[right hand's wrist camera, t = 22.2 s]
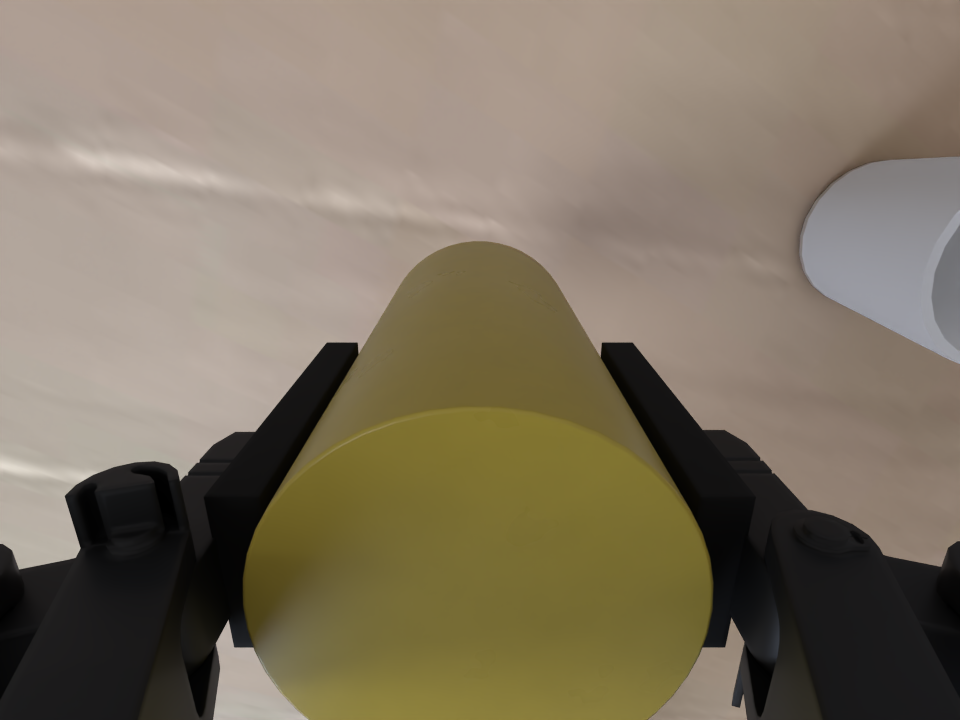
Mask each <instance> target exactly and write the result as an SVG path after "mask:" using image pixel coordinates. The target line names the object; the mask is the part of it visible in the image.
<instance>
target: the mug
mask: <svg viewBox="0 0 960 720" xmlns="http://www.w3.org/2000/svg"><path fill="white" fill-rule="evenodd" d="M799 256H800V260H801V264H802V269H803V272H804V274H805V275H806V277H807V279H808V280H809V282H810V284H811V285H812V286H813V287H814V288H815V289H817V290H818V291H819V292H820V293H821V294H822V295H824V296H826V297H828V298H830V299H832V300H834V301H836V302H838V303H840V304H842V305H844V306H846V307H848V308H849V309H851V310H853V311H855V312H857V313H859V314H861V315H863V316H865V317H867V318H869V319H871V320H873V321H875V322H877V323H879V324H881V325H883V326H885V327H886V328H888V329H890V330H892V331H894V332H896V333H898V334H900V335H902V336H904V337H906V338H908V339H910V340H912V341H914V342H916V343H918V344H920V345H921V346H923V347H925V348H927V349H929V350H931V351H933V352H935V353H937V354H939V355H941V356H943V357H945V358H947V359H949V360H951V361H954V362H956V363H959V364H960V156H959V157H939V158H919V159H899V160H884V161H877V162H871V163H867V164H864V165H862V166H860V167H857V168H855V169H852V170H850V171H848V172H847V173H845V174H844V175H842V176H841V177H840V178H838V179H837V180H835V181H834V182H833V183H831V184H830V185H829V186H828V187H827V189H826V190H825V191H824V192H823V193H822V194H821V195H820V196H819V197H818V198H817V199H816V201H815V203H814V204H813V206H812V208H811V209H810V211H809V213H808V214H807V216H806V218H805V221H804V225H803V228H802V231H801V234H800V248H799Z"/></svg>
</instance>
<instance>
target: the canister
mask: <svg viewBox="0 0 960 720" xmlns="http://www.w3.org/2000/svg"><path fill="white" fill-rule="evenodd" d="M243 608H244V613H245V619H246V625H247V630H248V633H249V635H250V638H251V641H252V644H253V647H254V650H255V652H256V654H257V656H258V658H259V660H260V662H261V664H262V666H263V667H264V669H265V671H266V673H267V674H268V676H269V677H270V679H271V680H272V681H273V683H274V684H275V686H276V687H277V688H278V690H279V691H280V692H281V693H282V695H283V696H284V697H285V698H286V699H287V700H288V701H289V702H290V703H291V704H292V705H293V706H294V707H295V708H296V709H297V710H298V711H299V712H300V713H301V714H302V715H304V716H305V717H306V718H307V719H308V720H648V719H649V718H650V717H651V716H653V715H654V714H655V713H656V712H657V711H658V710H659V709H660V708H661V707H662V706H663V705H664V704H665V703H666V702H667V701H668V700H669V699H670V698H671V697H672V696H673V695H674V693H675V692H676V691H677V690H678V688H679V687H680V686H681V684H682V683H683V682H684V680H685V679H686V678H687V676H688V675H689V673H690V671H691V669H692V667H693V666H694V664H695V662H696V660H697V658H698V657H699V655H700V652H701V649H702V647H703V644H704V641H705V639H706V636H707V633H708V629H709V624H710V619H711V614H712V608H713V576H712V568H711V561H710V556H709V553H708V550H707V547H706V543H705V540H704V537H703V534H702V532H701V530H700V528H699V526H698V524H697V522H696V520H695V518H694V516H693V514H692V512H691V510H690V508H689V507H688V505H687V503H686V502H685V500H684V498H683V496H682V495H681V493H680V491H679V490H678V488H677V486H676V485H675V483H674V481H673V480H672V478H671V476H670V474H669V473H668V471H667V469H666V468H665V466H664V464H663V463H662V461H661V459H660V458H659V456H658V454H657V452H656V451H655V449H654V447H653V446H652V444H651V442H650V441H649V439H648V437H647V436H646V434H645V432H644V430H643V429H642V427H641V425H640V424H639V422H638V420H637V419H636V417H635V415H634V414H633V412H632V410H631V408H630V407H629V405H628V403H627V402H626V400H625V398H624V397H623V395H622V393H621V392H620V390H619V388H618V386H617V385H616V383H615V381H614V380H613V378H612V376H611V375H610V373H609V371H608V370H607V368H606V366H605V364H604V363H603V361H602V359H601V358H600V356H599V354H598V353H597V351H596V349H595V348H594V346H593V344H592V342H591V341H590V339H589V337H588V336H587V334H586V332H585V331H584V329H583V327H582V326H581V324H580V322H579V320H578V319H577V317H576V315H575V314H574V312H573V310H572V309H571V307H570V305H569V303H568V302H567V300H566V298H565V297H564V295H563V293H562V292H561V290H560V288H559V287H558V285H557V283H556V282H555V281H554V279H553V278H552V276H551V275H550V274H549V273H548V272H547V271H546V269H545V268H544V267H543V266H542V265H540V264H539V263H538V262H537V261H536V260H534V259H533V258H532V257H530V256H528V255H527V254H525V253H523V252H522V251H519V250H517V249H515V248H512V247H510V246H506V245H503V244H499V243H493V242H485V241H473V242H464V243H459V244H455V245H451V246H448V247H446V248H443V249H441V250H438V251H436V252H435V253H433V254H431V255H429V256H428V257H426V258H425V259H424V260H422V261H421V262H420V263H418V264H417V265H416V266H415V267H414V268H413V269H412V270H411V271H410V272H409V273H408V275H407V276H406V277H405V279H404V280H403V281H402V283H401V285H400V286H399V288H398V290H397V291H396V293H395V295H394V296H393V298H392V300H391V301H390V303H389V305H388V306H387V308H386V310H385V311H384V313H383V315H382V316H381V318H380V320H379V321H378V323H377V325H376V326H375V328H374V330H373V331H372V333H371V335H370V336H369V338H368V340H367V341H366V343H365V345H364V346H363V348H362V350H361V351H360V353H359V355H358V356H357V358H356V360H355V361H354V363H353V365H352V367H351V368H350V370H349V372H348V373H347V375H346V377H345V378H344V380H343V382H342V383H341V385H340V387H339V388H338V390H337V392H336V393H335V395H334V397H333V398H332V400H331V402H330V403H329V405H328V407H327V408H326V410H325V412H324V413H323V415H322V417H321V418H320V420H319V422H318V423H317V425H316V427H315V428H314V430H313V432H312V433H311V435H310V437H309V438H308V440H307V442H306V443H305V445H304V447H303V448H302V450H301V452H300V453H299V455H298V457H297V458H296V460H295V462H294V463H293V465H292V467H291V468H290V470H289V472H288V473H287V475H286V477H285V478H284V480H283V482H282V483H281V485H280V487H279V488H278V490H277V492H276V494H275V495H274V497H273V499H272V500H271V502H270V504H269V505H268V507H267V509H266V511H265V513H264V514H263V516H262V518H261V520H260V522H259V524H258V525H257V527H256V529H255V532H254V535H253V538H252V540H251V543H250V546H249V549H248V552H247V556H246V562H245V568H244V575H243Z"/></svg>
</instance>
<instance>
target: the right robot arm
mask: <svg viewBox="0 0 960 720" xmlns="http://www.w3.org/2000/svg"><path fill="white" fill-rule="evenodd" d="M358 355H359V354H358V343H326V344H325V346H324V347H323V348H322V349H321V351H320V352H319V353H318V354H317V356H316V357H315V358H314V359H313V361H312V362H311V363H310V364H309V366H308V367H307V368H306V369H305V371H304V372H303V373H302V374H301V376H300V377H299V378H298V379H297V381H296V382H295V383H294V384H293V386H292V387H291V388H290V389H289V391H288V392H287V393H286V394H285V396H284V397H283V398H282V399H281V401H280V402H279V403H278V404H277V406H276V407H275V408H274V409H273V411H272V412H271V413H270V414H269V416H268V417H267V418H266V419H265V421H264V422H263V423H262V424H261V426H260V427H259V428H258V429H257V431H256V432H235V433H233V434H231V435H229V436H228V437H226V438H224V439H223V440H221V441H219V442H217V443H216V444H214V445H213V446H212V447H211V448H210V449H209V450H208V451H207V452H206V453H205V455H204V456H203V457H202V458H201V459H200V463H196V464H195V466H194V467H193V468H192V469H191V470H190V471H189V472H188V476H185V477H184V478H183V479H182V480H181V481H180V479H179V475H178V470H177V469H175V468H174V467H172V466H171V465H170V464H166V463H160V462H155V461H154V462H136V463H131V464H126V465H122V466H117V467H113V468H111V469H108V470H105V471H103V472H100V473H97V474H95V475H93V476H91V477H89V478H87V479H86V480H84V481H82V482H80V483H79V484H77V485H76V486H75V487H74V488H73V489H72V490H71V491H69V492H68V493H67V494H66V495H65V499H66V502H67V505H68V508H69V512H70V515H71V518H72V521H73V525H74V528H75V531H76V534H77V537H78V541H79V544H80V547H81V549H80V551H79V553H78V555H77V557H76V558H73V559H70V560H65V561H60V562H55V563H50V564H45V565H40V566H35V567H30V568H25V569H20V570H19V569H18V566H17V563H16V560H15V558H14V555H13V552H12V550H10V549H9V548H8V547H6V546H5V545H3V544H0V720H213V716H214V708H215V701H216V694H217V687H218V680H219V673H220V664H219V656H218V652H217V647H216V642H217V640H218V638H219V636H220V634H221V632H222V631H223V629H224V627H225V625H226V623H227V621H228V619H229V624H230V629H231V633H232V638H233V643H234V647H253V644H252V641H251V638H250V635H249V633H248V630H247V625H246V619H245V613H244V608H243V575H244V568H245V562H246V556H247V552H248V549H249V546H250V543H251V540H252V538H253V535H254V532H255V529H256V527H257V525H258V524H259V522H260V520H261V518H262V516H263V514H264V513H265V511H266V509H267V507H268V505H269V504H270V502H271V500H272V499H273V497H274V495H275V494H276V492H277V490H278V488H279V487H280V485H281V483H282V482H283V480H284V478H285V477H286V475H287V473H288V472H289V470H290V468H291V467H292V465H293V463H294V462H295V460H296V458H297V457H298V455H299V453H300V452H301V450H302V448H303V447H304V445H305V443H306V442H307V440H308V438H309V437H310V435H311V433H312V432H313V430H314V428H315V427H316V425H317V423H318V422H319V420H320V418H321V417H322V415H323V413H324V412H325V410H326V408H327V407H328V405H329V403H330V402H331V400H332V398H333V397H334V395H335V393H336V392H337V390H338V388H339V387H340V385H341V383H342V382H343V380H344V378H345V377H346V375H347V373H348V372H349V370H350V368H351V367H352V365H353V363H354V361H355V360H356V358H357V356H358ZM601 359H602V361H603V363H604V364H605V366H606V368H607V370H608V371H609V373H610V375H611V376H612V378H613V380H614V381H615V383H616V385H617V386H618V388H619V390H620V392H621V393H622V395H623V397H624V398H625V400H626V402H627V403H628V405H629V407H630V408H631V410H632V412H633V414H634V415H635V417H636V419H637V420H638V422H639V424H640V425H641V427H642V429H643V430H644V432H645V434H646V436H647V437H648V439H649V441H650V442H651V444H652V446H653V447H654V449H655V451H656V452H657V454H658V456H659V458H660V459H661V461H662V463H663V464H664V466H665V468H666V469H667V471H668V473H669V474H670V476H671V478H672V480H673V481H674V483H675V485H676V486H677V488H678V490H679V491H680V493H681V495H682V496H683V498H684V500H685V502H686V503H687V505H688V507H689V508H690V510H691V512H692V514H693V516H694V518H695V520H696V522H697V524H698V526H699V528H700V530H701V532H702V534H703V537H704V540H705V543H706V547H707V550H708V553H709V556H710V561H711V568H712V576H713V608H712V614H711V619H710V624H709V629H708V633H707V636H706V639H705V641H704V644H703V647H725V646H726V641H727V636H728V631H729V626H730V621H731V617H732V619H733V621H734V623H735V625H736V627H737V628H738V630H739V632H740V634H741V636H742V638H743V640H744V641H745V643H744V647H743V652H742V656H741V661H740V665H739V670H738V674H737V679H736V684H735V688H734V693H733V700H732V706H735V707H739V708H740V705H741V700H742V696H743V694H744V700H745V707H746V714H747V720H960V541H957V542H956V543H955V544H953V545H952V546H950V547H949V548H948V550H947V553H946V556H945V559H944V561H943V564H942V567H938V566H933V565H928V564H923V563H918V562H913V561H908V560H903V559H898V558H893V557H889V556H885V555H883V554H882V552H881V550H880V548H879V547H878V546H877V544H876V543H875V542H874V541H873V540H872V539H871V537H870V536H869V535H868V534H866V533H865V532H863V531H862V530H860V529H859V528H857V527H856V526H854V525H853V524H851V523H849V522H846V521H844V520H842V519H839V518H837V517H835V516H832V515H829V514H825V513H821V512H817V511H813V510H808V509H807V508H806V507H805V506H804V505H803V504H802V503H801V502H800V501H799V500H798V499H797V497H796V496H795V495H794V494H793V493H792V492H791V491H790V490H789V489H788V488H787V487H786V485H785V484H784V483H783V482H782V481H781V480H780V479H779V478H778V477H777V476H776V475H775V474H772V470H771V469H770V468H769V467H768V466H767V465H766V464H765V463H764V461H760V457H759V456H758V455H757V454H756V453H755V452H754V451H753V449H752V448H751V447H750V446H749V445H748V444H747V443H746V442H744V441H742V440H741V439H739V438H737V437H735V436H734V435H732V434H730V433H729V432H727V431H725V430H702V429H701V427H700V426H699V425H698V424H697V422H696V421H695V420H694V419H693V417H692V416H691V415H690V414H689V412H688V411H687V410H686V409H685V407H684V406H683V405H682V404H681V402H680V401H679V400H678V399H677V397H676V396H675V395H674V394H673V393H672V391H671V390H670V389H669V388H668V386H667V385H666V384H665V383H664V381H663V380H662V379H661V378H660V376H659V375H658V374H657V373H656V371H655V370H654V369H653V368H652V366H651V365H650V364H649V363H648V361H647V360H646V359H645V358H644V356H643V355H642V354H641V353H640V351H639V350H638V349H637V348H636V346H635V345H634V344H633V343H602V348H601Z"/></svg>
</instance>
